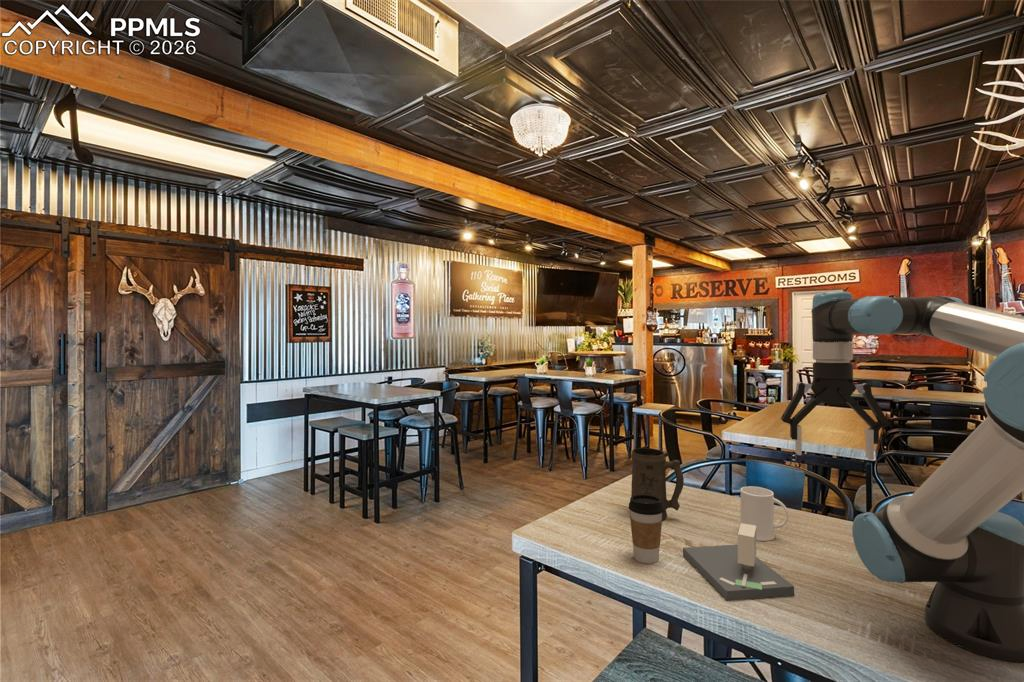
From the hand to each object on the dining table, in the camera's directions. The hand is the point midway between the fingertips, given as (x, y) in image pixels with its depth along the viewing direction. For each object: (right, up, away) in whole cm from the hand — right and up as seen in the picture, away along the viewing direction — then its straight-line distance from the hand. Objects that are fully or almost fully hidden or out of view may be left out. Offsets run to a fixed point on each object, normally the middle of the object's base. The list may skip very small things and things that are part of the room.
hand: (833, 456), depth 108 cm
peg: (-20, -26, -1) cm, 33 cm away
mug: (-4, -27, +23) cm, 36 cm away
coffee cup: (-39, -28, +11) cm, 49 cm away
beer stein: (-28, -27, +37) cm, 54 cm away
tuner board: (-21, -28, +3) cm, 35 cm away
